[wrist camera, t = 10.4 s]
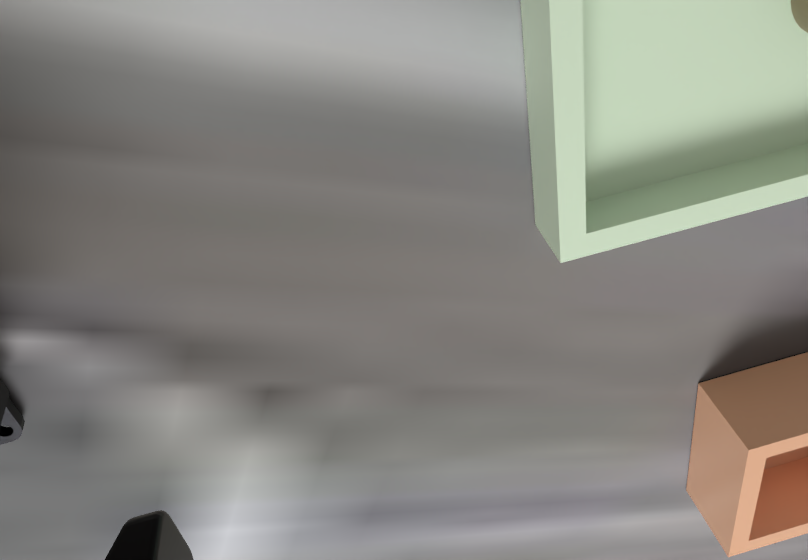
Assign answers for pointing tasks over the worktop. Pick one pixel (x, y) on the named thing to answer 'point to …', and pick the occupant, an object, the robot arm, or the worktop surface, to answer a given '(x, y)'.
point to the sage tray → (661, 115)
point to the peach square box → (752, 455)
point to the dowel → (800, 13)
